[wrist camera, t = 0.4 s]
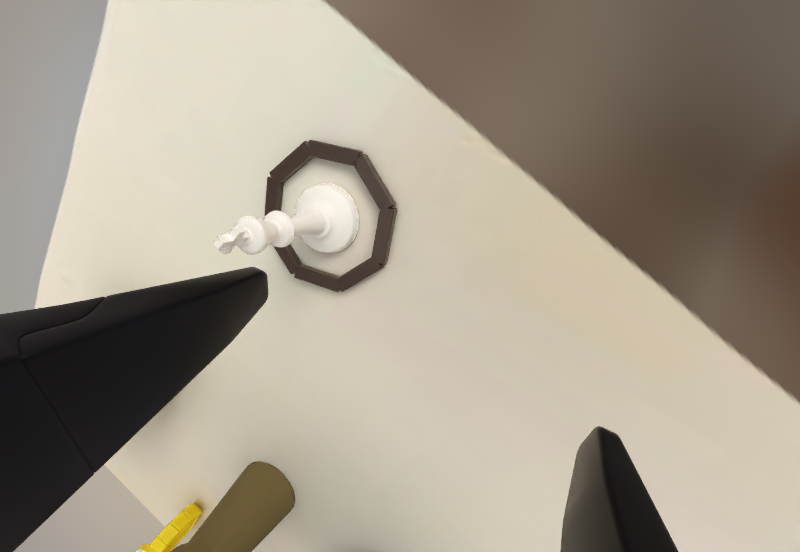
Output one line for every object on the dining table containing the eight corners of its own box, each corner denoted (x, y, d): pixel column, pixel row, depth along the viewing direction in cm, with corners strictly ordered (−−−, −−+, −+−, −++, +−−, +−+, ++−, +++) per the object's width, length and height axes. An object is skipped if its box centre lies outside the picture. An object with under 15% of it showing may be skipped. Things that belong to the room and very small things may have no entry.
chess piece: (287, 215, 28) (164, 236, 19) (326, 167, 26) (209, 165, 17) (329, 265, 28) (226, 311, 18) (372, 221, 25) (280, 249, 16)
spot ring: (316, 307, 29) (312, 309, 28) (248, 195, 28) (242, 196, 28) (420, 244, 25) (418, 246, 24) (342, 112, 24) (337, 111, 24)
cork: (263, 518, 38) (164, 641, 28) (233, 468, 38) (123, 574, 28) (305, 510, 35) (213, 642, 25) (274, 456, 35) (167, 569, 25)
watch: (196, 533, 43) (146, 585, 38) (179, 516, 43) (127, 565, 38) (212, 508, 41) (162, 559, 35) (194, 490, 41) (142, 538, 36)
